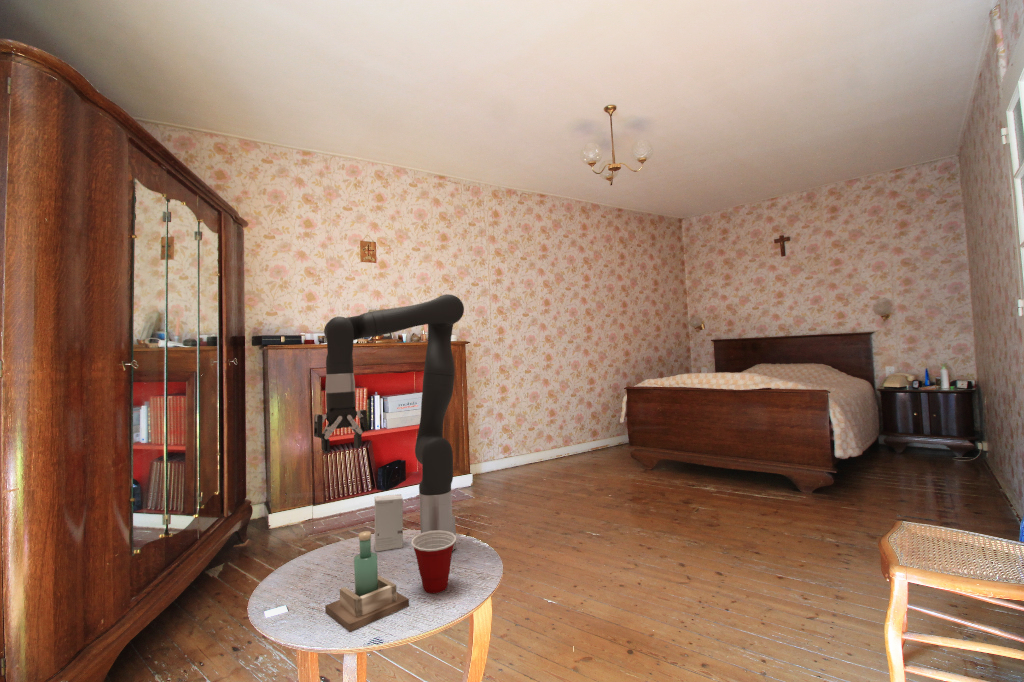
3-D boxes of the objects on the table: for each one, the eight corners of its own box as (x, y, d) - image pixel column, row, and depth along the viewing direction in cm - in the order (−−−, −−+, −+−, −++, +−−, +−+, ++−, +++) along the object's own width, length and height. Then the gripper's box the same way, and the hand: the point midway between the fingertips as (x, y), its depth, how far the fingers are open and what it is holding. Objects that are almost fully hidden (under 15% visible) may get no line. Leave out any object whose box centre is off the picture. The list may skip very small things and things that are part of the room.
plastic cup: (414, 602, 110) (413, 549, 111) (411, 582, 120) (409, 533, 121) (461, 594, 113) (459, 542, 114) (454, 575, 124) (452, 527, 124)
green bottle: (371, 594, 112) (369, 527, 113) (382, 601, 108) (380, 532, 109) (351, 602, 108) (349, 533, 109) (361, 610, 105) (359, 538, 105)
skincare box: (375, 552, 142) (373, 501, 143) (374, 545, 148) (373, 496, 148) (404, 547, 144) (402, 497, 145) (402, 541, 150) (401, 492, 151)
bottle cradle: (382, 589, 117) (381, 568, 118) (409, 605, 109) (408, 583, 109) (325, 612, 108) (324, 589, 108) (349, 631, 99) (349, 606, 99)
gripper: (320, 392, 124) (322, 456, 123) (371, 388, 134) (373, 447, 133) (308, 392, 129) (310, 453, 129) (358, 388, 139) (360, 445, 138)
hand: (342, 450), depth 131 cm, fingers open, 8 cm apart
